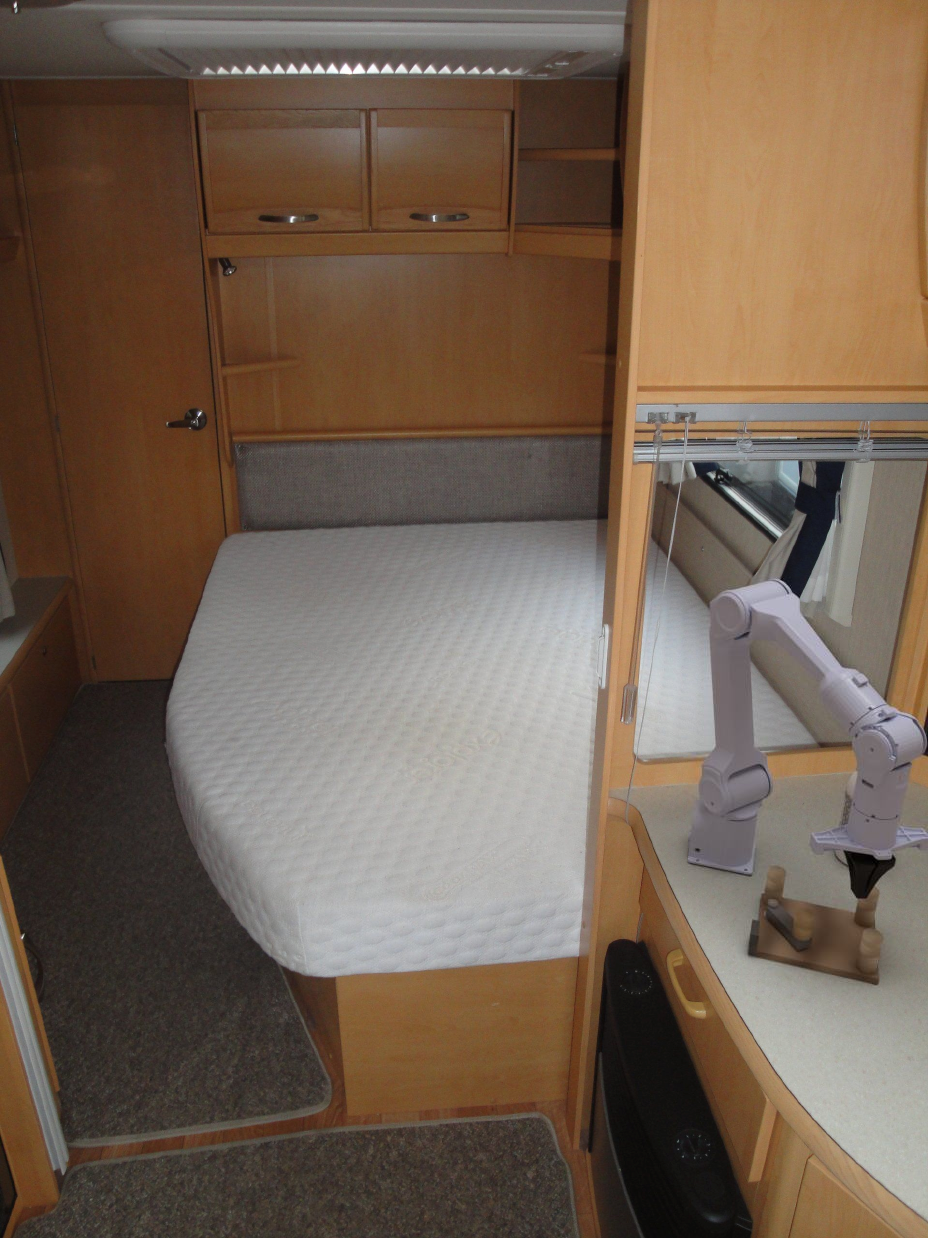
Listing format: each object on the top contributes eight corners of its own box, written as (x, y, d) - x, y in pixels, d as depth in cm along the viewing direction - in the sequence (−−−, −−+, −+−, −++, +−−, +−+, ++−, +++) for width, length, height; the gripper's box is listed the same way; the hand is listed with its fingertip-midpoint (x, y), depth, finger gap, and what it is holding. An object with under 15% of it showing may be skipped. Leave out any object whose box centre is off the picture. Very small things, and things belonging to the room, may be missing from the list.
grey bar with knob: (760, 913, 129) (765, 883, 127) (775, 909, 129) (780, 879, 127) (797, 952, 122) (803, 922, 120) (812, 947, 123) (818, 917, 121)
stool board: (747, 955, 123) (753, 917, 121) (753, 897, 134) (758, 861, 131) (877, 985, 118) (886, 946, 116) (873, 922, 129) (881, 885, 126)
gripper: (832, 828, 111) (816, 917, 117) (950, 823, 112) (929, 912, 117) (809, 794, 118) (795, 880, 123) (921, 790, 118) (902, 875, 124)
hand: (858, 893), depth 121 cm, fingers closed
